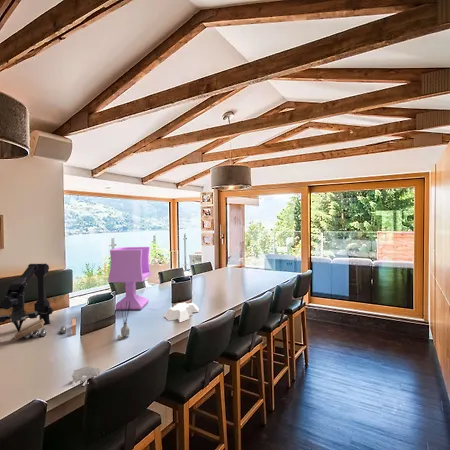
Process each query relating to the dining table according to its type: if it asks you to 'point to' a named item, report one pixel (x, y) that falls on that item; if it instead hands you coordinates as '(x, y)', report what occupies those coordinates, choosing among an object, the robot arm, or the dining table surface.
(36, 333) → the roller mid
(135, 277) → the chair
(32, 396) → the dining table surface
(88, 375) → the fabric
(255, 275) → the dining table surface
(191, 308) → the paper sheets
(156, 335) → the dining table surface
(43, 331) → the roller
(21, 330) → the slab
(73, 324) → the bar
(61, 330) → the roller
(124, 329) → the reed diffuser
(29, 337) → the roller
